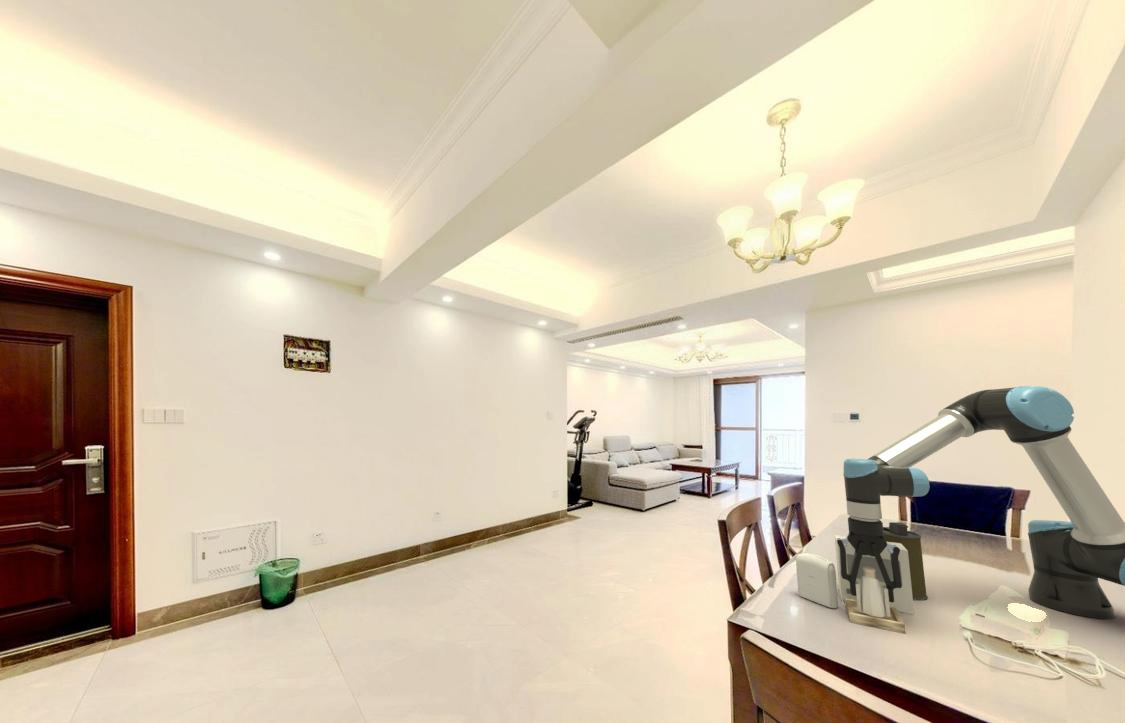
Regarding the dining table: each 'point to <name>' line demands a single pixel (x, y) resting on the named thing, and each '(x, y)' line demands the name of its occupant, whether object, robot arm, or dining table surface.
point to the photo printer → (817, 579)
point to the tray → (875, 618)
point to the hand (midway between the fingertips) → (873, 611)
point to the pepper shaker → (871, 594)
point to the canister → (909, 555)
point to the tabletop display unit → (879, 575)
